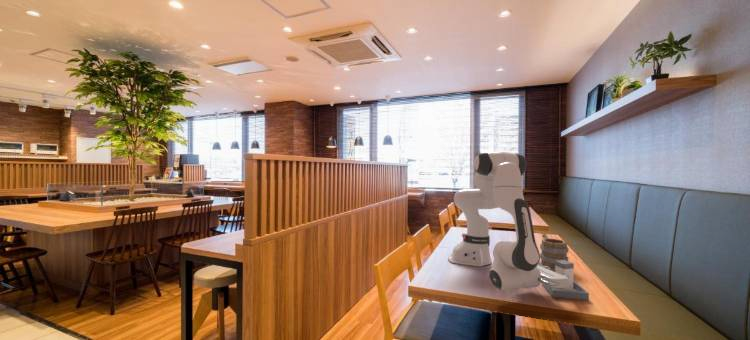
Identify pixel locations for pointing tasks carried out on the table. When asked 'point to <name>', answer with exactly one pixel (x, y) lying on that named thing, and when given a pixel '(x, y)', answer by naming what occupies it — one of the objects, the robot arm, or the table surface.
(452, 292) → the table surface
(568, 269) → the plug
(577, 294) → the walled box
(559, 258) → the tankard
